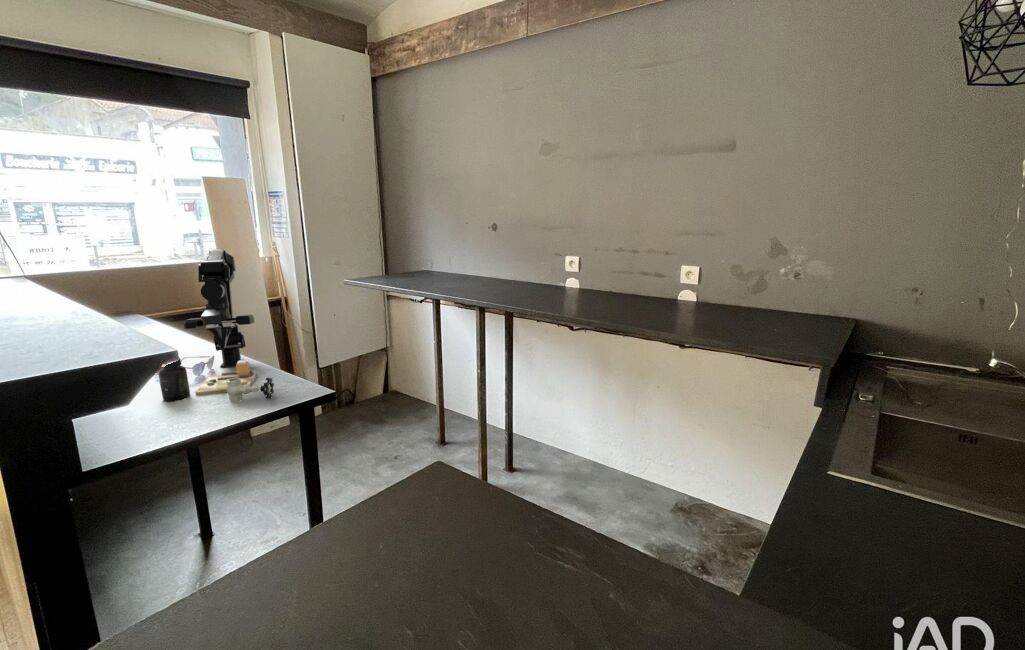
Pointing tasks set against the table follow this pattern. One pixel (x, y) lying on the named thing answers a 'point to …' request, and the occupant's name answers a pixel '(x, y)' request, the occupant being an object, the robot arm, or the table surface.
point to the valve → (247, 389)
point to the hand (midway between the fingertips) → (223, 348)
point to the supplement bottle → (174, 382)
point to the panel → (223, 383)
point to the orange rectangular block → (242, 368)
